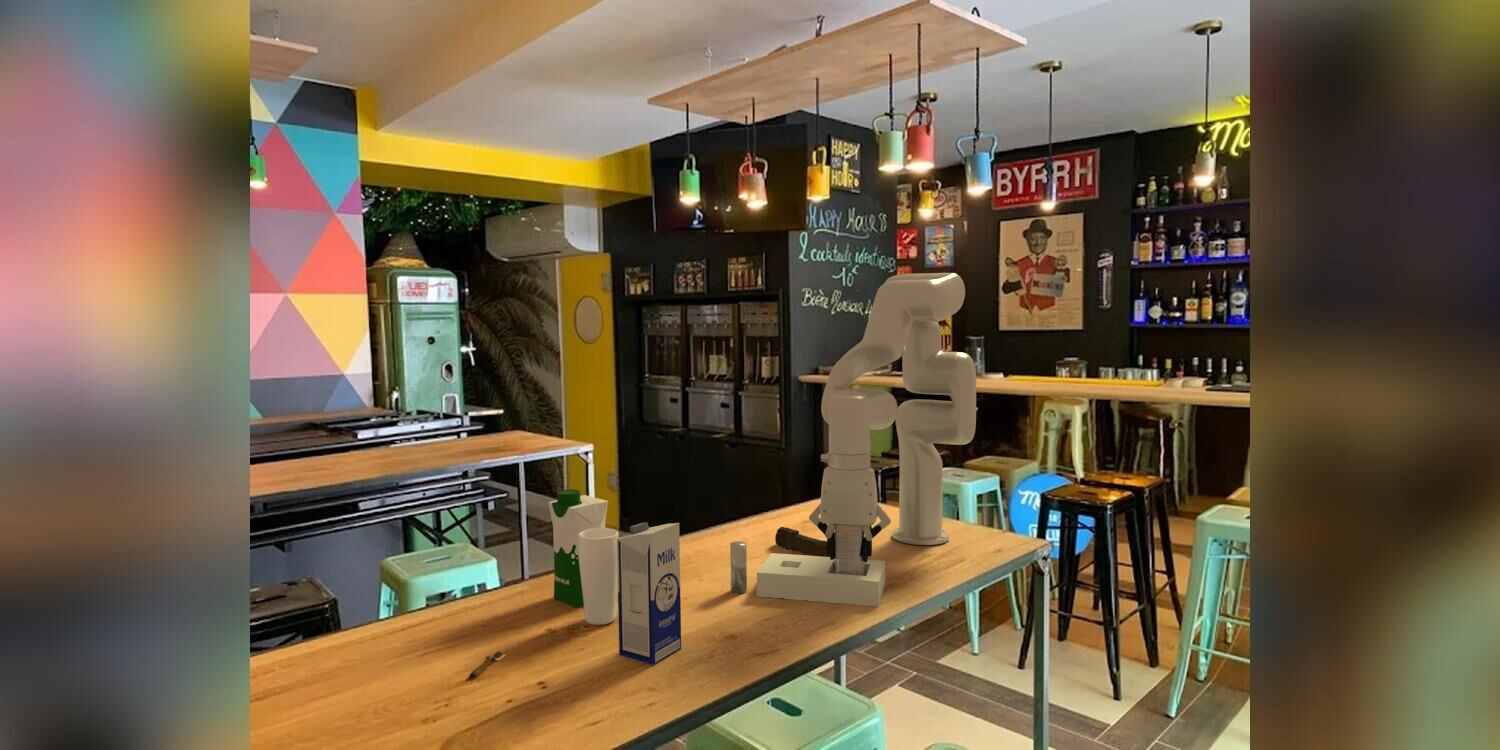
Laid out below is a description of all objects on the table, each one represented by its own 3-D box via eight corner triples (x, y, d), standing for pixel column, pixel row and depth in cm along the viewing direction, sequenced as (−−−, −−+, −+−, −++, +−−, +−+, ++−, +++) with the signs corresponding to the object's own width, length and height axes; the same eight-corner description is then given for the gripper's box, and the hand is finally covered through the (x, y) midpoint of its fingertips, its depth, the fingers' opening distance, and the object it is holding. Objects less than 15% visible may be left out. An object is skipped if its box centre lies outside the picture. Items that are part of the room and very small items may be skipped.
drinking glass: (586, 631, 132) (584, 540, 130) (575, 617, 137) (573, 531, 136) (626, 623, 135) (624, 535, 133) (613, 610, 141) (611, 525, 139)
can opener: (475, 681, 115) (474, 673, 114) (461, 680, 115) (460, 672, 115) (510, 655, 123) (509, 648, 123) (496, 654, 124) (496, 646, 124)
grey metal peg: (733, 587, 151) (732, 540, 151) (748, 589, 151) (748, 542, 150) (728, 593, 149) (728, 545, 148) (744, 594, 148) (744, 546, 147)
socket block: (772, 575, 158) (771, 553, 158) (885, 584, 153) (885, 560, 152) (757, 596, 147) (756, 572, 146) (878, 606, 141) (878, 581, 141)
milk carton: (653, 665, 118) (650, 532, 117) (618, 655, 122) (615, 526, 120) (682, 648, 124) (680, 521, 123) (648, 639, 128) (645, 515, 126)
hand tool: (849, 561, 167) (849, 540, 167) (836, 566, 164) (836, 543, 164) (784, 543, 181) (784, 523, 181) (771, 547, 178) (771, 526, 178)
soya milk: (546, 598, 146) (543, 490, 145) (587, 586, 153) (585, 482, 151) (574, 610, 140) (571, 498, 139) (616, 597, 147) (613, 489, 146)
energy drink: (866, 578, 150) (866, 515, 149) (861, 588, 145) (861, 522, 144) (838, 575, 152) (838, 513, 151) (831, 585, 147) (831, 520, 146)
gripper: (799, 463, 145) (799, 562, 147) (895, 467, 141) (895, 568, 142) (806, 456, 152) (807, 550, 154) (898, 459, 148) (898, 556, 149)
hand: (849, 557), depth 148 cm, fingers closed on energy drink, 5 cm apart
